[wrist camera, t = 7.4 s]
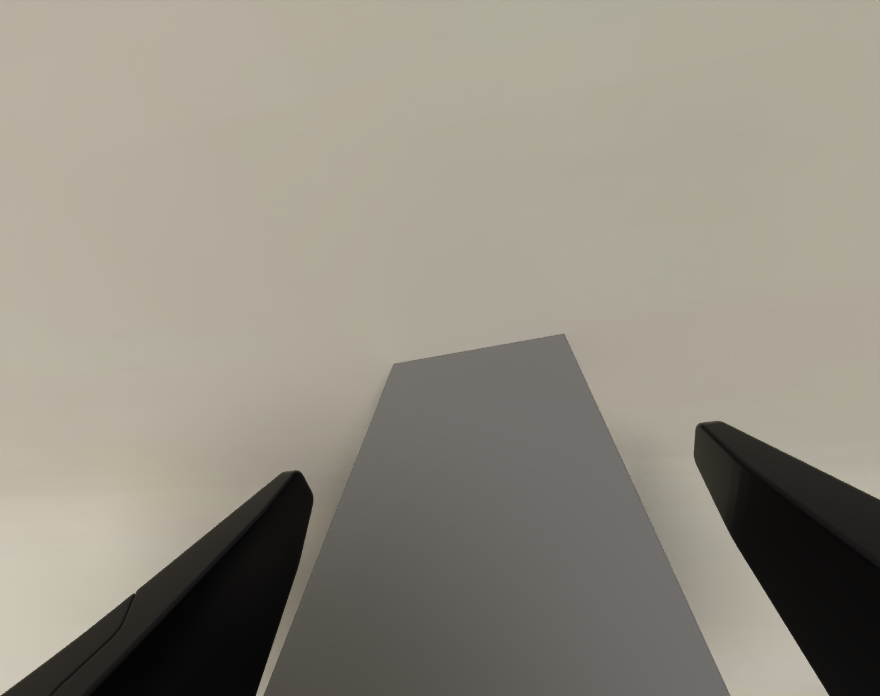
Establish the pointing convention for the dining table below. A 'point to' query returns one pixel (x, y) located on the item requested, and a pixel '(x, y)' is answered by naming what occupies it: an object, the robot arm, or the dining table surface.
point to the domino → (492, 548)
